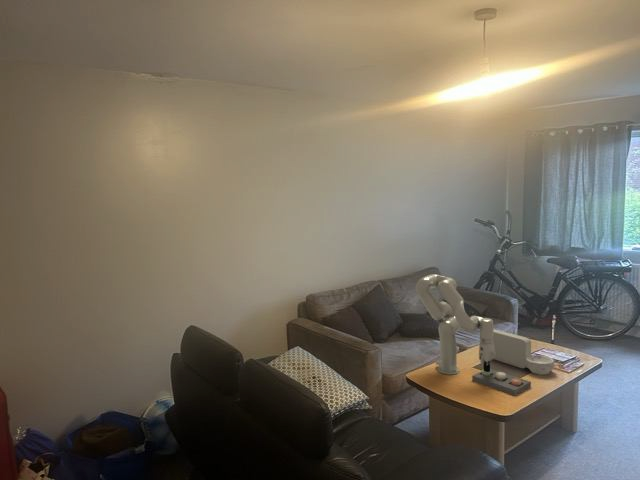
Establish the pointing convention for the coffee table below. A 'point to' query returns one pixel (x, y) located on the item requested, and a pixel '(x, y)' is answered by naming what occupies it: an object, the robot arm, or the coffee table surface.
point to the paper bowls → (539, 364)
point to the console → (501, 382)
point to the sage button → (486, 373)
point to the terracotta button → (516, 382)
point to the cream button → (500, 375)
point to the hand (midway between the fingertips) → (486, 371)
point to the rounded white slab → (511, 348)
